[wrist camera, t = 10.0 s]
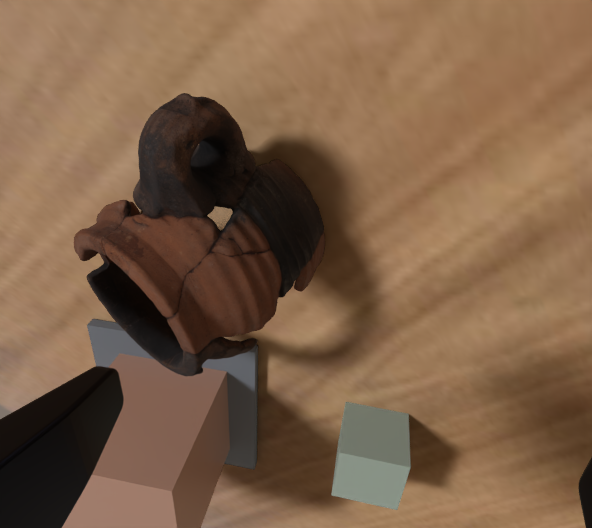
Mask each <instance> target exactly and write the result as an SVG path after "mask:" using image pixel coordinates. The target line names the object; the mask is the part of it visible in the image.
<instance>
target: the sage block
mask: <svg viewBox="0 0 592 528" xmlns="http://www.w3.org/2000/svg"><path fill="white" fill-rule="evenodd" d="M410 468H411V464H410V438H409V414H406V413H401V412H396V411H391V410H386V409H381V408H376V407H370V406H365V405H360V404H355V403H350V402H346V403H345V408H344V414H343V419H342V425H341V430H340V435H339V441H338V447H337V455H336V463H335V471H334V478H333V486H332V494H331V495H332V496H337V497H341V498H346V499H350V500H355V501H359V502H363V503H368V504H372V505H377V506H381V507H386V508H390V509H395V510H397V509H398V506H399V502H400V499H401V496H402V493H403V490H404V487H405V484H406V481H407V477H408V474H409V471H410Z"/></svg>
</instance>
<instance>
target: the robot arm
mask: <svg viewBox="0 0 592 528" xmlns="http://www.w3.org/2000/svg"><path fill="white" fill-rule="evenodd" d="M123 402H124V396H123V391H122V387H121V382H120V377H119V373H118V371H117V370H116V369H114V368H109V367H103V366H96V367H93V368H91V369H90V370H88V371H86V372H84V373H82V374H81V375H79V376H77V377H75V378H73V379H72V380H70V381H68V382H66V383H65V384H63V385H61V386H59V387H57V388H56V389H54V390H52V391H50V392H48V393H47V394H45V395H43V396H41V397H39V398H38V399H36V400H34V401H32V402H30V403H29V404H27V405H25V406H23V407H22V408H20V409H18V410H16V411H14V412H13V413H11V414H9V415H7V416H5V417H4V418H2V419H0V528H62V527H63V525H64V523H65V522H66V520H67V518H68V516H69V515H70V513H71V511H72V509H73V508H74V506H75V504H76V503H77V501H78V499H79V497H80V496H81V494H82V492H83V490H84V489H85V487H86V485H87V483H88V481H89V480H90V477H91V475H92V473H93V471H94V469H95V467H96V465H97V463H98V461H99V458H100V456H101V454H102V452H103V450H104V447H105V445H106V443H107V441H108V439H109V436H110V434H111V432H112V430H113V428H114V425H115V423H116V421H117V419H118V417H119V414H120V412H121V410H122V407H123ZM579 495H580V500H581V505H582V510H583V515H584V520H585V525H586V528H592V458H591V460H590V461H589V463H588V465H587V467H586V469H585V471H584V472H583V474H582V476H581V478H580V481H579Z"/></svg>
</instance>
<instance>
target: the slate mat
mask: <svg viewBox="0 0 592 528" xmlns="http://www.w3.org/2000/svg"><path fill="white" fill-rule="evenodd" d="M87 327H88V331H89V336H90V340H91V344H92V349H93V353H94V358H95V362H96V366H103V367H109V366H110V365H111V364H112V362H113V361H114V360H115V358H116V357H117V356H118V355H119V353H120V354H126V355H132V356H138V357H144V358H150V359H154V358H153V357H151V356H150V355H149V354H148V353H147V352H146V351H144V350H143V349H142V348H141V347H140V346H139V345H138V344H137V343H136V342H135V341H134V340H133V339H132V338H131V337H130V336H129V335H128V334H127V333H126V332H125V331H124V330H123V329H122V328H121V327H120V325H119V324H118V323H115V322H109V321H103V320H96V319H92V321H91V322H90V323H89V324H88V325H87ZM202 367H203V368H209V369H215V370H221V371H227V388H228V413H229V438H230V449H229V452H228V455H227V457H226V460H225V463H224V464H229V465H234V466H239V467H244V468H249V469H255V466H256V463H257V389H258V346H257V345H255V346H254V348H253V349H251V350H250V351H248V352H246V353H242V354H239V355H236V356H234V357H230V358H222V359H214V360H213V359H207V360H206V361H205V362H204V363H203V365H202Z"/></svg>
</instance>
